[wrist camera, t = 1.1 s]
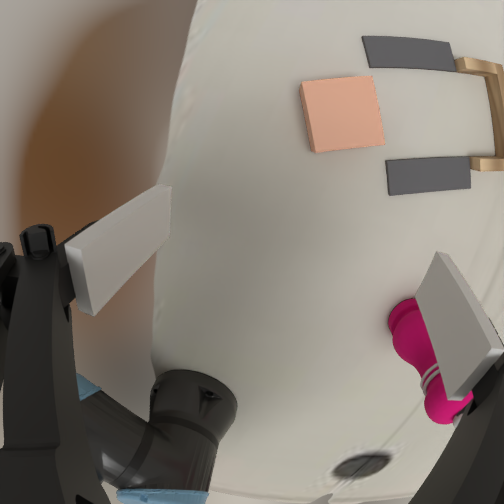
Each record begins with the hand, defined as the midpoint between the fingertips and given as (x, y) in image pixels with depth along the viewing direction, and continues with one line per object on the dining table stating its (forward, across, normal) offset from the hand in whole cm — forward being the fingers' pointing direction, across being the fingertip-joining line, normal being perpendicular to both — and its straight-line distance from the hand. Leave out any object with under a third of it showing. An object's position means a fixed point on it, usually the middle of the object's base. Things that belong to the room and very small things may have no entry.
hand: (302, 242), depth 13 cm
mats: (+23, -12, -9) cm, 27 cm away
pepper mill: (+20, -19, +17) cm, 32 cm away
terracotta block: (+22, -2, -6) cm, 22 cm away
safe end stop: (+24, -20, -12) cm, 34 cm away
